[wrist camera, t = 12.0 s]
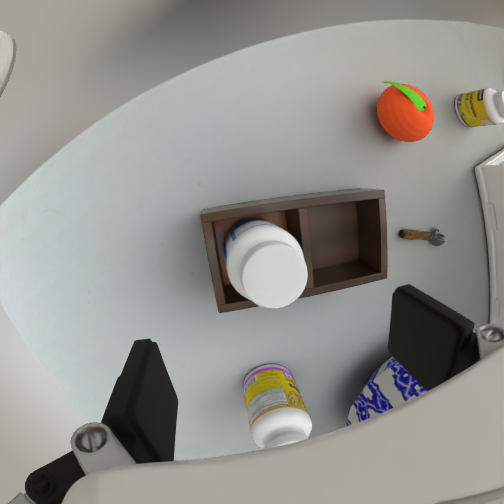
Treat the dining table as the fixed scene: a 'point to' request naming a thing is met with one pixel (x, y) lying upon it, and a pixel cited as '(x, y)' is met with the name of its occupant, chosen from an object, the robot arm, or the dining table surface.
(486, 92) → the supplement bottle
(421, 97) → the clementine
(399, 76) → the dining table surface
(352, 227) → the caddy
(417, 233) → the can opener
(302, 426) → the supplement bottle
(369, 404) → the ornament
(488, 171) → the laptop
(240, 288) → the pill bottle
